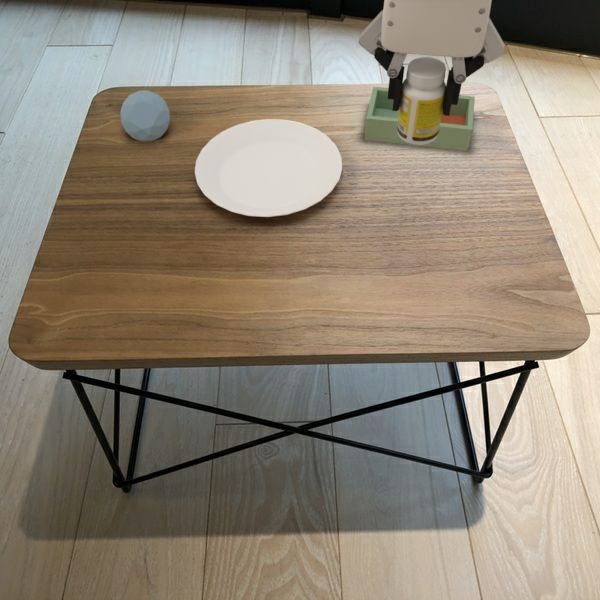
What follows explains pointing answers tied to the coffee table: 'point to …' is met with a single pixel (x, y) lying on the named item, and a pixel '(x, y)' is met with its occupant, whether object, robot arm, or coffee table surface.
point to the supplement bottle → (422, 101)
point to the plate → (268, 167)
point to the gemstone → (145, 115)
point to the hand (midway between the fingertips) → (421, 104)
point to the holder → (452, 127)
